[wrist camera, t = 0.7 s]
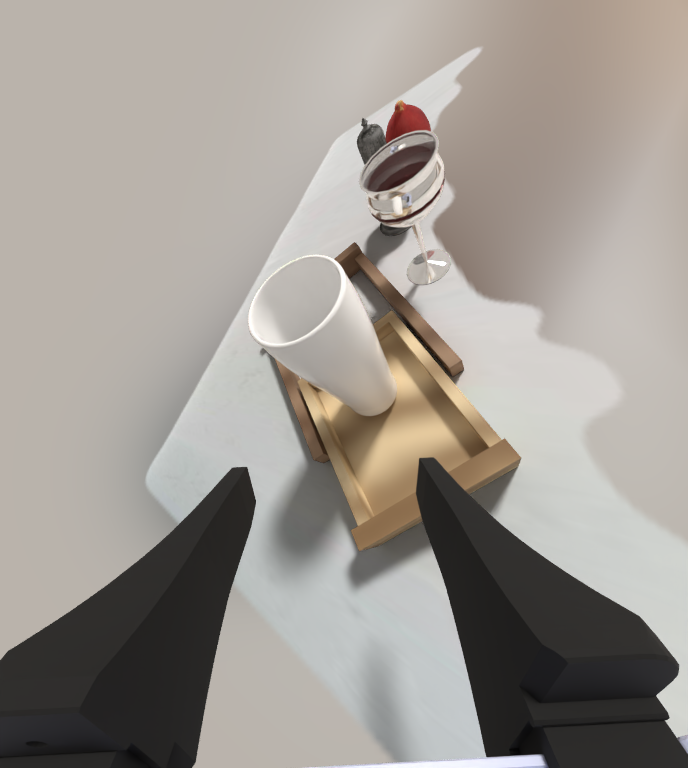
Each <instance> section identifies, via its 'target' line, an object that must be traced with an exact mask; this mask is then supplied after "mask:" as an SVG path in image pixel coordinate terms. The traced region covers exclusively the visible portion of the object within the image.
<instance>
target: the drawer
mask: <svg viewBox="0 0 688 768" xmlns="http://www.w3.org/2000/svg"><path fill="white" fill-rule="evenodd" d="M373 327H374V329H375V332H376V334H377V337H378V340H379V342H380V345H381V347H382V350H383V353H384V355H385V358H386V360H387V363H388V365H389V368H390V370H391V372H392V374H393V376H394V377H395V380H396V382H397V395H396V398H395V400H394V402H393V404H392V405H391V406H390V407H389V408H388V409H387V410H386V411H385V412H383V413H381V414H379V415H375V416H363V415H360V414H358V413H356V412H354V411H353V410H352V409H351V408H350V407H348V406H347V405H345V404H344V403H342V402H340V401H339V400H337V399H335V398H334V397H332V396H330V395H329V394H327V393H325V392H324V391H322V390H320V389H319V388H317V387H315V386H314V385H312V384H310V383H309V382H307V381H305V380H304V379H302V378H301V379H300V380H299V381H297V382H298V384H299V387H300V389H301V391H302V394H303V396H304V399H305V401H306V403H307V406H308V408H309V410H310V413H311V415H312V418H313V420H314V422H315V425H316V427H317V430H318V432H319V434H320V437H321V439H322V441H323V444H324V446H325V449H326V451H327V453H328V456H329V458H330V460H331V463H332V465H333V468H334V470H335V472H336V475H337V477H338V479H339V482H340V484H341V487H342V489H343V491H344V494H345V496H346V498H347V501H348V503H349V506H350V508H351V510H352V513H353V515H354V518H355V520H356V522H357V525H358V526H357V527H356V528H354V529H352V530H351V532H352V535H353V537H354V540H355V542H356V545H357V547H358V549H359V551H362V550H366V549H370V548H373V547H377V546H380V545H381V544H383V543H385V542H387V541H388V540H390V539H392V538H394V537H395V536H397V535H399V534H401V533H402V532H404V531H406V530H408V529H409V528H411V527H413V526H415V525H416V524H418V523H420V522H422V521H423V520H422V518H421V514H420V509H419V505H418V501H417V497H416V486H417V475H418V465H419V458H428V457H434V458H435V459H436V460H437V461H438V462H439V463H440V464H441V465H442V466H443V468H444V469H445V470H446V471H447V472H448V473H449V474H450V475H451V476H452V477H453V479H454V480H455V481H456V482H457V483H458V484H459V485H460V486H461V487H462V488H463V489H464V490H465V491H466V492H467V493H468V494H471V493H472V492H474V491H476V490H478V489H479V488H481V487H483V486H485V485H486V484H488V483H490V482H492V481H493V480H495V479H497V478H498V477H500V476H502V475H504V474H505V473H507V472H509V471H511V470H512V469H514V468H516V467H518V466H519V463H520V460H521V457H520V456H519V455H518V453H517V452H516V451H515V450H514V449H513V448H512V446H511V445H510V444H509V443H508V442H507V441H506V439H503V440H501V438H500V437H499V436H498V435H497V434H496V432H495V431H494V430H493V429H492V428H491V427H490V425H489V424H488V423H487V422H486V421H485V419H484V418H483V417H482V416H481V415H480V413H479V412H478V411H477V410H476V409H475V408H474V406H473V405H472V404H471V403H470V402H469V400H468V399H467V398H466V397H465V396H464V395H463V393H462V392H461V391H460V390H459V389H458V387H457V386H456V385H455V384H454V383H453V382H452V380H451V379H450V378H449V377H448V376H447V374H446V373H445V372H444V371H443V370H442V369H441V367H440V366H439V365H438V364H437V363H436V361H435V360H434V359H433V358H432V357H431V355H430V354H429V353H428V352H427V351H426V350H425V348H424V347H423V346H422V345H421V344H420V342H419V341H418V340H417V339H416V338H415V337H414V335H413V334H412V333H411V332H410V331H409V329H408V328H407V327H406V326H405V325H404V324H403V322H402V321H401V320H400V319H399V318H398V316H397V315H396V314H395V313H394V312H393V311H392V310H391V311H390V312H389V313H387V314H386V315H385V316H383V317H382V318H381V319H379V320H378V321H377V322H376V323H374V324H373Z"/></svg>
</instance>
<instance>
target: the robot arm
mask: <svg viewBox="0 0 688 768" xmlns="http://www.w3.org/2000/svg"><path fill="white" fill-rule="evenodd" d="M416 497H417V501H418V505H419V509H420V514H421V518H422V520H423V523H424V526H425V529H426V532H427V535H428V537H429V540H430V543H431V546H432V548H433V551H434V554H435V557H436V559H437V562H438V565H439V568H440V571H441V573H442V576H443V579H444V583H445V586H446V589H447V593H448V597H449V600H450V604H451V608H452V612H453V615H454V619H455V623H456V627H457V631H458V635H459V639H460V643H461V647H462V651H463V655H464V659H465V664H466V668H467V672H468V676H469V680H470V685H471V689H472V693H473V698H474V702H475V707H476V711H477V716H478V720H479V725H480V729H481V734H482V739H483V744H484V749H485V753H486V757H485V758H467V759H449V760H431V761H413V762H395V763H378V764H360V765H342V766H324V767H307V768H688V735H685V736H681V737H678V738H676V736H675V735H674V733H673V732H672V730H671V729H670V727H669V726H668V725H667V723H666V722H665V720H668V719H669V715H668V712H667V711H666V710H665V708H664V707H663V705H662V704H661V702H660V701H659V700H658V698H657V697H656V695H657V694H658V693H659V692H661V691H662V690H663V689H664V688H665V687H666V686H667V685H669V684H670V683H671V682H672V681H673V680H674V679H675V678H676V677H677V675H678V672H679V664H678V663H677V661H676V660H675V658H674V657H673V656H672V655H671V653H670V652H669V651H668V650H667V648H666V647H665V646H664V645H663V643H662V642H661V641H660V640H659V638H658V637H657V636H656V635H655V633H654V632H653V631H652V630H651V629H650V628H649V626H648V625H647V624H646V623H645V622H644V621H643V620H642V619H641V617H640V616H638V615H636V614H635V613H633V612H631V611H629V610H628V609H626V608H624V607H622V606H621V605H619V604H617V603H616V602H614V601H612V600H610V599H609V598H607V597H605V596H603V595H602V594H600V593H598V592H596V591H595V590H593V589H592V588H590V587H588V586H587V585H585V584H584V583H582V582H580V581H579V580H577V579H576V578H574V577H573V576H571V575H569V574H568V573H566V572H565V571H563V570H562V569H560V568H559V567H557V566H556V565H554V564H553V563H551V562H550V561H549V560H547V559H546V558H544V557H543V556H542V555H540V554H539V553H537V552H536V551H535V550H533V549H532V548H530V547H529V546H528V545H526V544H525V543H524V542H522V541H521V540H520V539H518V538H517V537H516V536H515V535H513V534H512V533H511V532H510V531H509V530H507V529H506V528H505V527H504V526H502V525H501V524H500V523H499V522H498V521H497V520H496V519H494V518H493V517H492V516H491V515H490V514H489V513H488V512H487V511H486V510H484V509H483V508H482V507H481V506H480V505H479V504H478V503H477V502H476V501H475V500H474V499H473V498H472V497H471V496H470V495H469V494H468V493H467V492H466V491H465V490H464V489H463V488H462V487H461V486H460V485H459V484H458V483H457V482H456V481H455V480H454V479H453V477H452V476H451V475H450V474H449V473H448V472H447V471H446V470H445V469H444V468H443V466H442V465H441V464H440V463H439V462H438V461H437V460H436V459H435V458H434V457H428V458H419V465H418V475H417V486H416ZM255 505H256V499H255V496H254V492H253V488H252V484H251V480H250V476H249V473H248V469H247V467H236V468H232V469H231V470H230V471H229V472H228V473H227V474H226V475H225V476H224V477H223V478H222V480H221V481H220V482H219V483H218V484H217V485H216V486H215V487H214V488H213V490H212V491H211V492H210V493H209V494H208V495H207V496H206V497H205V498H204V499H203V500H202V501H201V502H200V504H199V505H198V506H197V507H196V508H195V509H194V510H193V511H192V512H191V513H190V514H189V515H188V516H187V517H186V518H185V519H184V520H183V521H182V522H181V523H180V524H179V525H178V526H177V527H176V528H175V529H174V530H173V531H172V532H171V533H170V534H169V535H168V536H166V537H165V538H164V539H163V540H162V541H161V542H160V543H159V544H157V545H156V546H155V547H154V548H153V549H152V550H151V551H150V552H148V553H147V554H146V555H145V556H144V557H143V558H141V559H140V560H139V561H137V562H136V563H135V564H134V565H132V566H131V567H130V568H129V569H127V570H126V571H125V572H123V573H122V574H121V575H120V576H118V577H117V578H116V579H115V580H113V581H112V582H111V583H110V584H108V585H107V586H105V587H104V588H103V589H101V590H100V591H98V592H97V593H96V594H94V595H93V596H91V597H90V598H89V599H87V600H86V601H84V602H83V603H82V604H80V605H79V606H77V607H76V608H74V609H73V610H71V611H70V612H69V613H67V614H66V615H64V616H62V617H61V618H59V619H58V620H56V621H55V622H53V623H52V624H50V625H49V626H47V627H45V628H44V629H43V630H41V631H39V632H38V633H36V634H35V635H33V636H32V637H30V638H28V639H27V640H25V641H24V642H22V643H20V644H19V645H17V646H16V647H14V648H12V649H11V650H9V651H8V652H7V653H6V654H5V655H4V657H3V658H2V659H1V660H0V768H192V767H193V765H194V764H195V762H196V756H197V750H198V744H199V738H200V732H201V726H202V721H203V715H204V710H205V704H206V699H207V693H208V688H209V684H210V679H211V674H212V668H213V663H214V658H215V654H216V649H217V645H218V640H219V635H220V631H221V627H222V622H223V618H224V613H225V610H226V605H227V601H228V597H229V593H230V590H231V587H232V584H233V581H234V578H235V575H236V571H237V568H238V565H239V562H240V559H241V556H242V553H243V550H244V547H245V544H246V541H247V538H248V535H249V532H250V528H251V525H252V520H253V515H254V510H255Z"/></svg>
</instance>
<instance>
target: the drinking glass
mask: <svg viewBox="0 0 688 768" xmlns="http://www.w3.org/2000/svg"><path fill="white" fill-rule="evenodd" d="M248 327H249V331H250V334H251V335H252V337H253V339H254V340H255V341H256V342H257V343H258V344H259V345H260V346H262V347H263V348H264V349H265V350H266V351H267V352H268V353H269V354H270V355H272V356H273V357H274V358H275V359H276V360H277V361H279V362H280V363H281V364H282V365H284V366H285V367H286V368H288V369H289V370H290V371H292V372H293V373H295V374H296V375H298V376H299V377H301V378H302V379H304V380H305V381H307V382H309V383H310V384H312V385H314V386H315V387H317V388H319V389H320V390H322V391H324V392H325V393H327V394H329V395H330V396H332V397H334V398H335V399H337V400H339V401H340V402H342V403H344V404H345V405H347V406H348V407H350V408H351V409H352V410H353V411H354V412H356V413H358V414H360V415H363V416H375V415H379V414H381V413H383V412H385V411H386V410H387V409H388V408H389V407H390V406H391V405H392V404H393V402H394V400H395V398H396V395H397V382H396V380H395V377H394V376H393V374H392V372H391V370H390V368H389V365H388V363H387V360H386V358H385V355H384V353H383V350H382V347H381V345H380V342H379V340H378V337H377V334H376V332H375V329H374V327H373V324H372V322H371V319H370V317H369V314H368V312H367V310H366V308H365V306H364V304H363V302H362V300H361V298H360V296H359V294H358V293H357V291H356V289H355V288H354V286H353V284H352V283H351V281H350V279H349V278H348V276H347V275H346V273H345V272H344V270H343V268H342V267H341V265H340V264H339V263H338V262H337V261H335V260H334V259H332V258H330V257H327V256H323V255H309V256H304V257H301V258H298V259H295V260H293V261H291V262H289V263H287V264H285V265H284V266H282V267H281V268H279V269H278V270H277V271H275V272H274V273H273V274H272V275H271V276H270V277H269V278H268V279H267V280H266V281H265V282H264V283H263V284H262V286H261V287H260V288H259V290H258V291H257V293H256V295H255V297H254V299H253V301H252V303H251V306H250V309H249V314H248Z"/></svg>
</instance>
